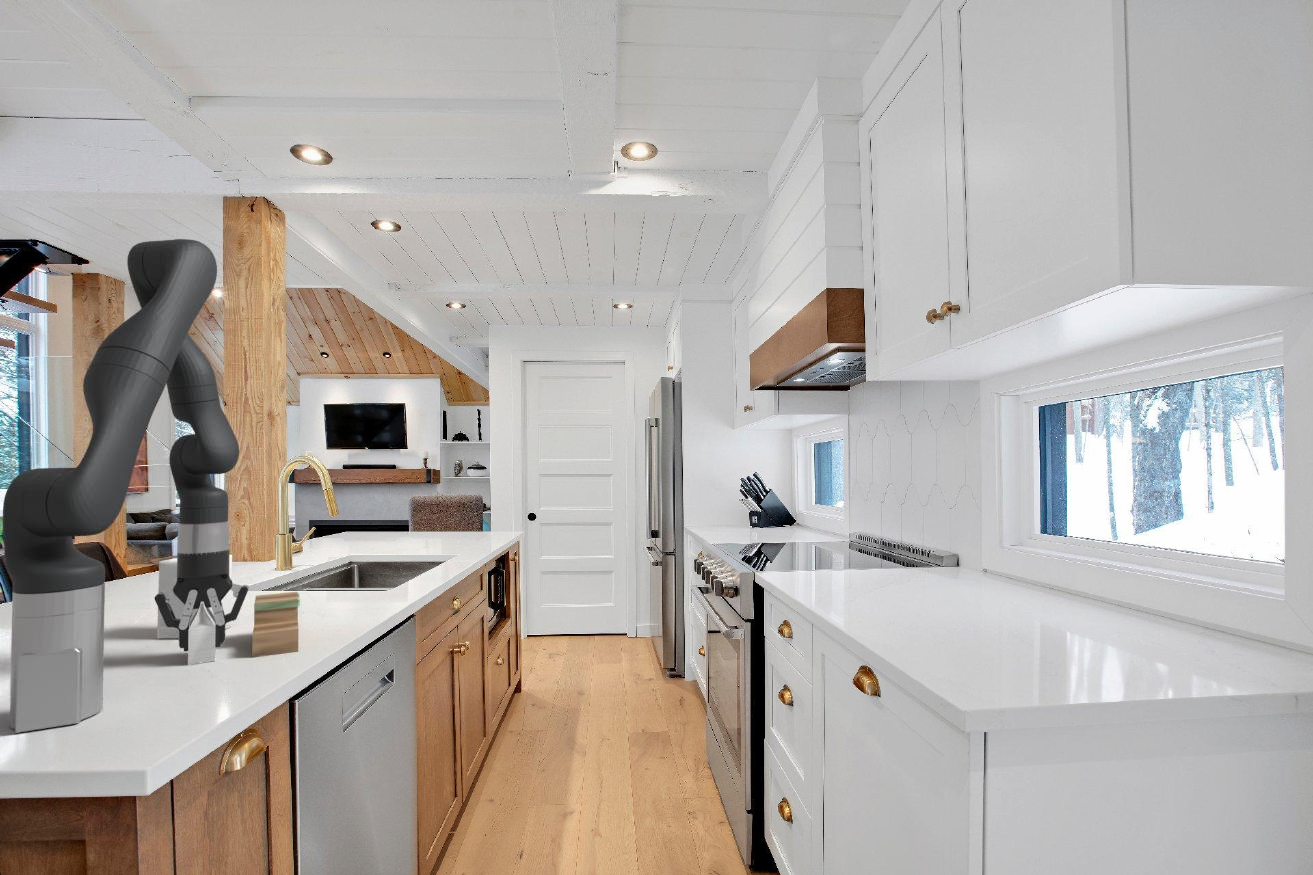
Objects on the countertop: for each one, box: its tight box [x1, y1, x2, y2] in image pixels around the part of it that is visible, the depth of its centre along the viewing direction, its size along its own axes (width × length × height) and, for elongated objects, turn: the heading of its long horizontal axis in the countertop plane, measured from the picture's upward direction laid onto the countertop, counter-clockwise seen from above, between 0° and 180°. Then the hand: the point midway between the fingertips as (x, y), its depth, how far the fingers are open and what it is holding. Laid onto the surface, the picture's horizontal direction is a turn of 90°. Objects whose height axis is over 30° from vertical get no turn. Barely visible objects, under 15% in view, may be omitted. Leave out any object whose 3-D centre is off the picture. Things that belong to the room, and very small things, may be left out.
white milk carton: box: [187, 601, 217, 666], centre depth 114 cm, size 4×7×10 cm, turn 32°
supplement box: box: [156, 554, 233, 639], centre depth 131 cm, size 9×9×15 cm
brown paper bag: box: [251, 591, 301, 658], centre depth 123 cm, size 15×7×8 cm, turn 29°
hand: (202, 647), depth 114 cm, fingers closed on white milk carton, 3 cm apart
